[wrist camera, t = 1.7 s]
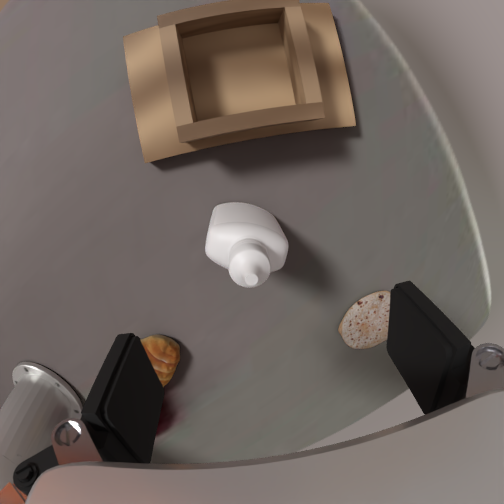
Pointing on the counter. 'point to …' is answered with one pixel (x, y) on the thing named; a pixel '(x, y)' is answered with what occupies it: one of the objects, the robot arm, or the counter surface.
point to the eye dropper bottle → (246, 242)
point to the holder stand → (236, 75)
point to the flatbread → (366, 321)
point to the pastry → (162, 355)
